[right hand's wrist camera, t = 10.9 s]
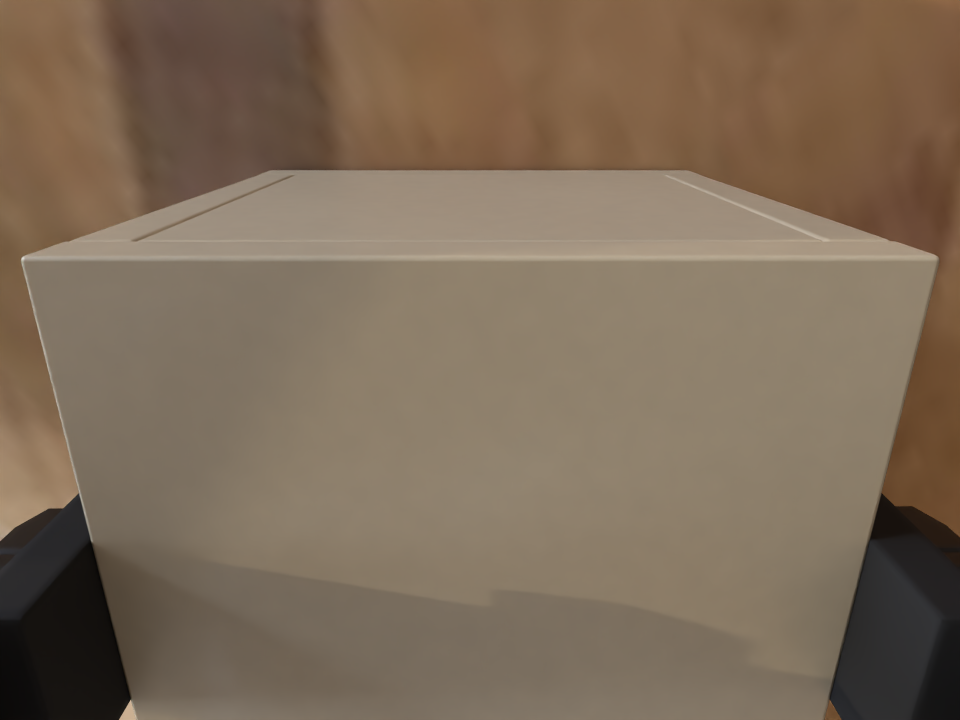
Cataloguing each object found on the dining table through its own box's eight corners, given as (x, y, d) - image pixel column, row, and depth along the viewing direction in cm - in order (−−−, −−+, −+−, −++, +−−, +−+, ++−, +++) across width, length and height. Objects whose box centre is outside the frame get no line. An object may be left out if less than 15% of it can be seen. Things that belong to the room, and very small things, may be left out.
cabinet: (625, 759, 23) (714, 1162, 14) (334, 759, 23) (245, 1164, 14) (689, 170, 16) (944, 256, 7) (269, 170, 16) (16, 256, 7)
